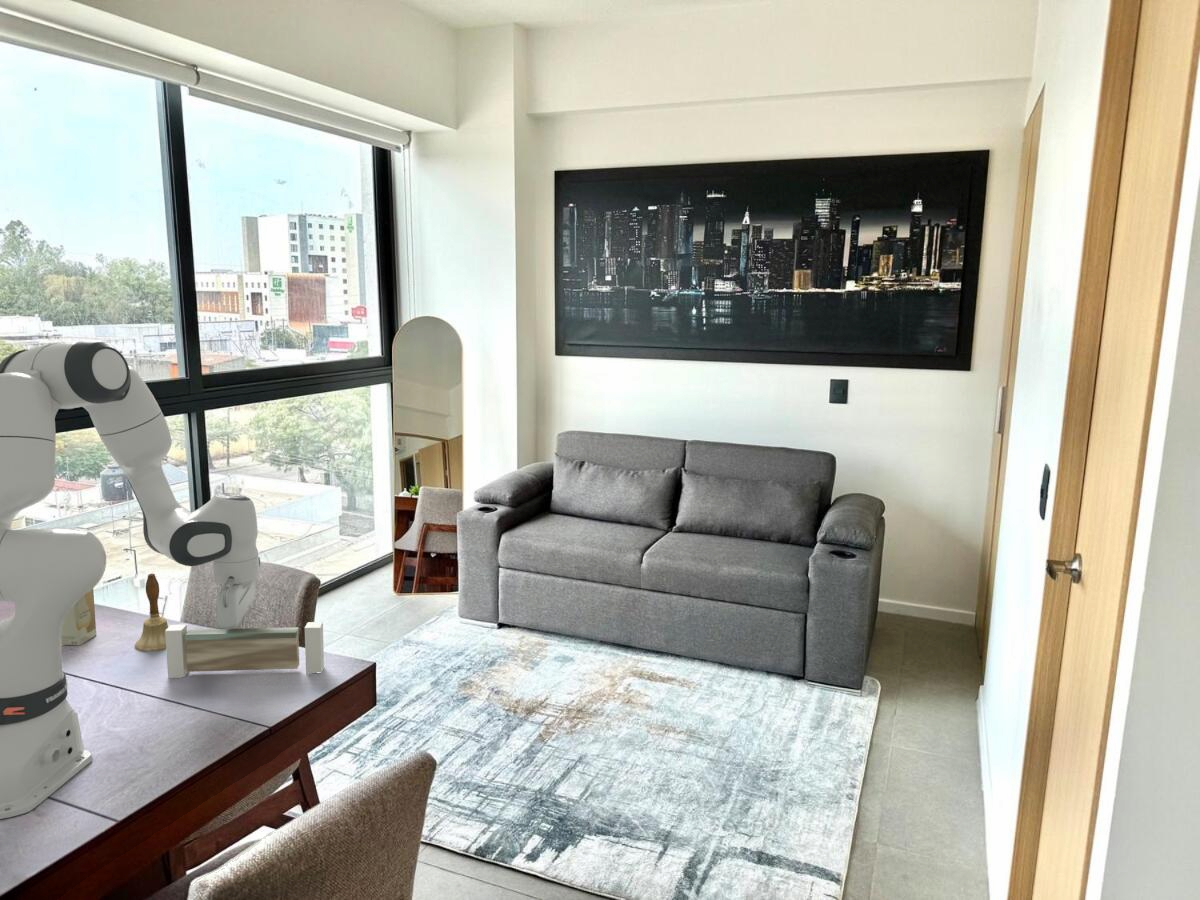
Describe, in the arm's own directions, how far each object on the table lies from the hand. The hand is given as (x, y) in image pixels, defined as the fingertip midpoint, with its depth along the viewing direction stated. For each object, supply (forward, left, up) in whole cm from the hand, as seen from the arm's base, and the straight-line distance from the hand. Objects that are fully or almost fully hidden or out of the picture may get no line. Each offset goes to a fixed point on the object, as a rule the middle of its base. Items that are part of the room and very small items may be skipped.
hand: (238, 633), depth 173 cm
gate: (-6, -3, -5) cm, 8 cm away
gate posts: (-6, -3, -6) cm, 9 cm away
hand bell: (+10, +20, -6) cm, 23 cm away
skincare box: (+13, +37, -6) cm, 40 cm away
